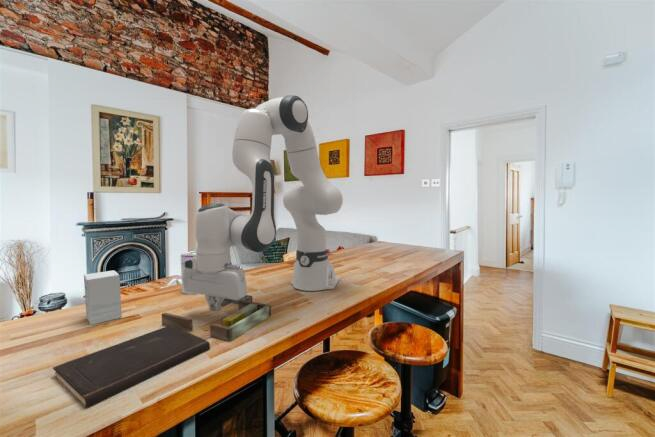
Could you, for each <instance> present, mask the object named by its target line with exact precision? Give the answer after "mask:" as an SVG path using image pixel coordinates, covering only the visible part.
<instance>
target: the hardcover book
mask: <svg viewBox="0 0 655 437" xmlns="http://www.w3.org/2000/svg"><path fill="white" fill-rule="evenodd" d="M210 349H211V344H210V341H208V340H207V339H204V338H201V337H200V336H197V335H195V334H193V333H190V332H189V331H185V330H181V329H179V328H177V327H175V326H172V325H169V326H164V327H161V328H159V329H156V330H153V331H150V332H147V333H145V334H142V335H139V336H136V337H133V338H131V339H128V340H125V341H122V342H120V343H116V344H114V345H111V346H108V347H106V348H103V349H100V350H97V351H94V352H92V353H89V354H86V355H84V356H81V357H77V358H75V359H72V360H69V361H67V362H64V363H62V364H58V365H56V366H53V367H52V369H53V371H54V375H55V377H56V378H58V380H59V381H60V382H61V383H62V384H63V385H64V386H65V387H66V388H67V389H68V390H69V391H70V392H71V393H72V394H73V395H74V396H75V397H76V398H77V399H78V401H79V400H80V402H81V403H82V404H83V405H84V406H85V409H89V408H91V407H92V406H94V405H97V404H99V403H101V402H103V401H104V400H107V399H109V398H112V397H113V396H116V395H117V394H120V393H122V392H124V391H125V390H128V389H130V388H132V387H134V386H136V385H138V384H140V383H142V382H144V381H146V380H148V379H151V378H153V377H156V376H157V375H159V374H161V373H163V372H166V371H167V370H169V369H172V368H174V367H176V366H178V365H180V364H182V363H184V362H186V361H189V360H191V359H193V358H195V357H197V356H199V355H201V354H203V353H205V352H206V351H207V352H208V351H209V350H210Z"/></svg>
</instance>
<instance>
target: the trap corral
mask: <svg viewBox="0 0 655 437" xmlns="http://www.w3.org/2000/svg"><path fill="white" fill-rule="evenodd" d="M213 298H214V301H215V303H216V302H217V300H215V296H214V297H213ZM230 303H231V304H236V305H237V304H238V310H240V309H242V308H244V307H246V306H247V305H249V304H258V311H256V312H254V313H253V314H251V315H249V316H247V317H246V318H244V319H242V320H240V321H239V322H237V323H235V324H233V325H232V326H230V327H227V326H223V324H218V323H210V325H209V329H210V331H209V334H210V335H209V336H210V338H214V339H217V340H222V341H225V342H230V343H231V341H233V340H234V339H236V338H237V337H239V336H240V335H242V334H244V333H245V332H247V331H249V330H250V329H251V328H253V327H255V326H256V325H258V324H259V323H261V322H263V321H264V320H266V319H268V318H269V317H271V316H272V305H271V304H266V303H262V302H261V303H260V302H255V301H254V302H253V295H248V294H247V295H246V296H245V297H244V298H242V299H240V300H232V299H226V298H225V299H224V300H223V302H222V304H221V308H222V307H224V306H225V305H226V306H227V305H229V304H230ZM161 325H162V326H164V327H167V326H169V325H172V326H175V327H177V328H179V329H181V330H184V331H186V332H188V333H190V332H191V331H193V330H194V329H193V318H191V317H186V316H182V315H177V314H172V313H169V312H162V313H161Z"/></svg>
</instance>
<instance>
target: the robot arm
mask: <svg viewBox="0 0 655 437" xmlns="http://www.w3.org/2000/svg"><path fill="white" fill-rule="evenodd" d="M234 132H235V133H234V138H233V144H232V152H231V153H232V162H233V165H234V166H235V167H236V169H237V170H238V171H239V172H240V173H242V174H243V175H245V176H247V177H248V178H249V180H250V183H251V185H252V196H251V213H250V214H249V215H247V214H242V213H239V212H237V211H235V210H233V209H231V208H229V207H228V206H227V205H226V204H225V203H224V204H223V203H214V204H212V203H211V204H207V205H203V206H201V207H200V208H199V209H198V210H197V212H196V216H195V228H194V229H195V231H194V232H195V240H196V244H197V247H196V250H195V251H196V257H194V258H191V259H188V260H185V261H183V267H184V268H185V269H184V271H183V286H184V289H185V290H186V292H192V293H197V294H198V295H204V298H205V301H206V302H207V304H208V310H209V311H213V312H220V311H222V307H221V304H222V302H223V300H224V299H225V298H226V299H232V300H240V299H242V298H244V297H245V296H246V295H248V286H247V281H246V280H247V279H246V275H245V274H246V272H245V269H244V268H243V267H242V266H241V265H239V264H232V263H231V248H232V247H233V246H234V247H237V248H242V249H246V250H249V251H252V252H255V253H263V252H265V251H267V250H268V249H269V248H271V246H273V244H274V242H275V240H276V237H277V226H276V220H275V172H274V171H275V170H274V167H273V165H272V163H271V149H272V139H273V136H277V135H281V136H282V137H283V139H284V145H285V150H286V155H287V160H288V166H289V170H290V172H291V174H292V176H294V177H295V178H296V179H298V180H299V181H300V182H301V184H302V185H297V186H293V187H289V188H288V189H287V190H285V192H284V194H283V196H282V200H283V201H282V202H283V206H284V208H285V209H286V211H288V212H289V213H290V215H291V216H292V219H293V221H294V224H295V228H296V241H297V242H296V243H297V244H296V245H297V249H296V251H295V252H296V253H295V257H296V259H295V260H296V261H295V262H294V263H293V269H292V270H293V271H292V279H291V280H289V283H290V285H292V286H293V288H294V289H297V290H301V291H308V292H309V291H310V292H313V291H314V292H315V291H323V290H334V289H335V288H336V286H337V284H338V283H339V281H341V280H340V278H341V277H340V276H338V275H335V266H334V265H333V264H332V262H331V261H330V260H329V255H330V250H331V249H329V248H327V232H326V231H327V230H326V229H325V228H324V226H323V225H321V223H320V222H319V221H318V219H317V217H316V215H319V216H322V215H323V216H327V215H332V214H336V213H338V212H339V211H340V210H341V208H342V206H343V201H344V200H343V194H342V191H341V190H340V189H339V188H338V187H336V186H335V185H334V184H332V182H331V181H330V180H329V179H328V178H327V176H326V175H325V172H324V170H323V168H322V166H321V162H320V158H319V153H318V148H317V143H316V138H315V135H314V131H313V129H312V126H311V124H310V122H309V110H308V106H307V104H306V103H305V101H304V100H303V99H302V98H301V97H300V96H298V95H285V96H281V97H280V96H279V97H275V98H271V99H270V100H267V101H264V102H262V103H258V104H256V105H254V106H253V107H252V108H248V109H246V110H244V111H242V112H241V114H240V117H239V119H238V123H237V126H236V128H235V131H234ZM197 294H196V295H197ZM214 296H215V300H217V302H216V303H215V301H214V298H213V297H214Z"/></svg>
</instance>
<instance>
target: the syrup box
mask: <svg viewBox="0 0 655 437" xmlns="http://www.w3.org/2000/svg"><path fill="white" fill-rule="evenodd" d="M194 257H196V250H191V251H188V252H184V253H181V254H180V276H181V292H182V294H189V295H197V293H192V292H186V290H185V289H184V286H183V271H184V269H185V268H184V267H183V261H185V260H188V259H191V258H194Z"/></svg>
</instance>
